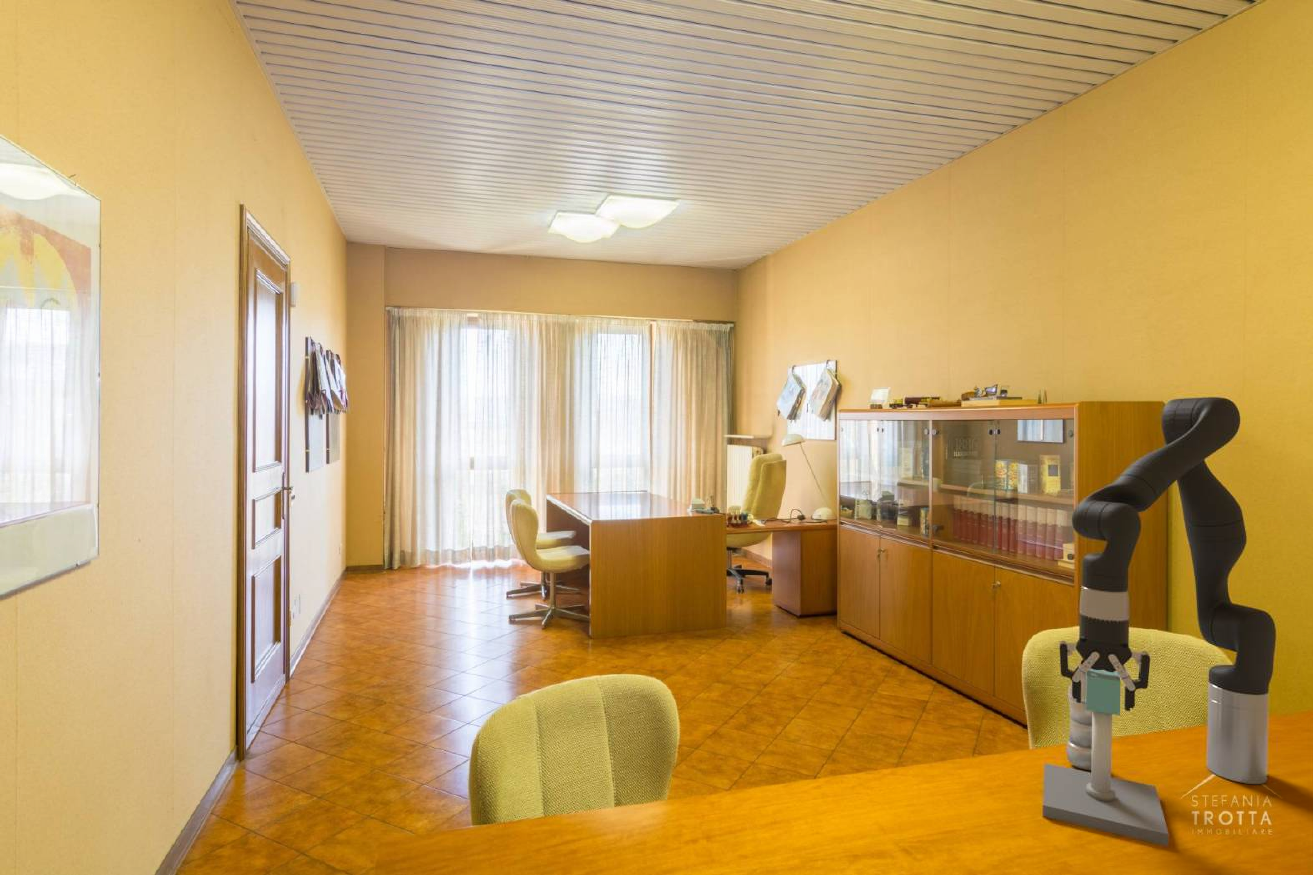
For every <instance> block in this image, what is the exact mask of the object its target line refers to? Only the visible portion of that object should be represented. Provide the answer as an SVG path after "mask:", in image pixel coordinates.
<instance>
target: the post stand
mask: <svg viewBox="0 0 1313 875" xmlns="http://www.w3.org/2000/svg"><path fill="white" fill-rule="evenodd" d="M1112 728H1113V714H1108V713H1102V712H1096V711H1092V761H1091V772H1089V771H1086V770H1085V771H1084V770H1079V769H1075V768H1071V767H1070V768H1069V767H1065V766H1060V765H1056V764H1055V765H1054V764H1052V763H1051V764H1050V763H1045V762H1044V769H1043V770H1044V771H1043V789H1042V790H1043V792H1042V795H1043V796H1042V817H1043V818H1047V817H1048V818H1049V819H1052V820H1057V821H1060V822H1064V823H1068V824H1069V823H1070V824H1072V825H1076V826H1077V825H1078V826H1082V827H1086V828H1090V829H1094V830H1097V831H1103V832H1106V833H1110V834H1115V835H1119V836H1123V837H1127V838H1132V839H1136V840H1141V841H1143V842H1144V841H1145V842H1148V843H1152V844H1156V845H1160V846H1161V845H1162V846H1163V847H1169V835H1170V834H1169V831H1168V827H1167V823H1166V820H1165V815H1164V812H1163V809H1162V805H1161V801H1160V798H1159V794H1158V791H1157V786H1156V785H1152V784H1147V783H1143V782H1136V781H1133V780H1132V781H1131V780H1128V779H1123V778H1118V777H1114V776H1113V777H1112V744H1113V743H1112V742H1113V741H1112V739H1113V738H1112V737H1113V733H1112V732H1113V729H1112Z"/></svg>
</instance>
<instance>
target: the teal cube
mask: <svg viewBox="0 0 1313 875" xmlns="http://www.w3.org/2000/svg"><path fill="white" fill-rule="evenodd" d="M1121 682H1122V681H1121V677H1120V676H1119V674H1118V673H1117V671H1115V672H1114V673H1113V672H1108V671H1105V670H1093V669H1089V670H1088V672H1087V673H1086V710H1091V711H1096V712H1102V713H1108V714H1112V715H1115V716H1121V684H1122V683H1121Z"/></svg>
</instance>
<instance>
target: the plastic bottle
mask: <svg viewBox="0 0 1313 875" xmlns="http://www.w3.org/2000/svg"><path fill="white" fill-rule="evenodd" d="M1077 666H1078V664H1076V666H1075V669H1076V668H1077ZM1090 669H1093V668H1090ZM1080 680H1081V703H1077V702H1076V699H1073V697H1072V683H1070V685H1069V687H1068V688H1067V697H1068V699H1067V700H1068V705H1069V716H1070V719H1069V721H1070V726H1069V733H1068V739H1067V742H1066V748H1065V752H1066V758H1067V760H1068V762H1069V764H1071V765H1073V766H1074V767H1076V768H1078V769H1081V770H1083V771H1084V770H1085V771H1091V761H1092V711H1091V710H1086V674H1084V676H1083V677H1082V678H1081V679H1080Z"/></svg>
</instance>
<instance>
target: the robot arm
mask: <svg viewBox="0 0 1313 875" xmlns="http://www.w3.org/2000/svg"><path fill="white" fill-rule="evenodd" d="M1160 419H1161V420H1160V422H1161V429H1162V435H1163V439H1164V442H1165V445H1164V446H1162V447H1160V448H1157V449H1155V450H1152V451H1151V452H1149V453H1146V454H1145V455H1143V456H1141V457H1140V458H1138V459H1136V460H1135V461H1134V462H1133V463H1131V464H1130V465H1129V466H1128V467H1127V468H1126V469H1125V470H1124V471H1123V472H1122V473H1121V474H1120V475H1119V476H1117V478H1116V479H1115V480H1114V482H1111V483H1110V484H1108V485H1106V486H1103V487H1102V488H1100V489H1098V490H1096V491H1095V492H1093V493H1092V494H1089V495H1087V497H1085V498H1083V499H1082V500H1081V501H1080V502H1079V503H1078V504H1077V505H1076V506H1075V508H1074V510H1073V513H1072V516H1071V524H1072V527H1073V529H1074V531H1075V532H1076V533H1077V534H1078V535H1079V536H1081V537H1083V538H1086V539H1089V540H1094V541H1095V540H1097V541H1102V542H1106V544H1105V547H1104V549H1103V551H1102V552H1097V553H1096V552H1094V553H1087V554H1086V555H1085V556H1084V557H1083V558H1082V561H1081V562H1082V564H1081V565H1082V566H1081V590H1080V594H1079V595H1080V596H1079V608H1078V609H1079V630H1078V634H1079V635H1078V640H1077V641H1076V642H1075V643H1073V642H1066V641H1065V640H1060V641H1059V661H1060V662H1059V663H1060V665H1059V666H1060V675H1061V677H1064V678H1067V679H1070V680H1071V684H1072V697H1073V699H1076V702H1077V703H1081V680H1080V679H1081V678H1082V677H1083V676H1084V674H1086V673H1087V672H1088V670H1089V669H1090V668H1093V670H1103V671H1108V672H1113V673H1114V672H1117V673H1118V674H1119V677H1120V680H1122V681H1123V683H1124V685H1125V686H1124V701H1123V705H1124V707H1123V708H1124V711H1126V712H1131V709H1134V707H1135V704H1136V701H1135V700H1136V694H1135V693H1136V691H1137V690H1140V689H1142V690H1146V689H1147V688H1148V687H1149V676H1150V665H1151V657H1150V655H1149V654H1150V653H1148V651H1145V650H1144V651H1141V652H1140V651H1133V650H1132V649H1131V648H1130V645H1129V643H1130V642H1129V641H1130V635H1129V634H1130V615H1131V611H1130V599H1129V568H1130V564H1131V562H1132V558H1133V554H1134V552H1135V549H1136V546H1137V543H1138V541H1139V538H1140V535H1141V531H1142V521H1141V520H1142V519H1141V517H1140V515H1139V513H1142V512H1145V511H1147V510H1148V509H1150V508H1151V507H1152V506H1153V504H1155V503H1156V501H1157V500H1158V499H1159V498H1160V497H1161V496H1163V495H1164V493H1165V492H1166V491H1167V490H1168V489H1169V488H1170V487H1171V486H1172V485H1173V484H1175V482H1176V483H1177V487H1178V493H1179V497H1180V503H1181V508H1182V515H1183V522H1184V526H1185V532H1186V537H1187V541H1188V546H1189V551H1190V555H1191V562H1192V568H1193V569H1192V570H1193V575H1194V584H1195V598H1196V600H1195V601H1196V613H1197V623H1198V628H1199V631H1200V633H1201V636H1202V638H1203V639H1204V641H1205V642H1207V643H1208V644H1210V645H1211V646H1215V647H1217V648H1220V649H1223V650H1227V651H1231V652H1234V653H1235V654H1236V655H1235V659H1234V660H1235V661H1234V663H1233V664H1218V665H1212V667H1210V668H1209V669H1208V679H1207V680H1208V687H1207V688H1208V689H1207V692H1208V693H1207V697H1208V698H1207V741H1206V767H1207V768H1206V769H1208V770H1209V771H1210V772H1211V773H1212V774H1213V773H1214V774H1215V775H1217V776H1219V777H1221V778H1224V779H1227V780H1229V781H1230V780H1231V781H1233V782H1238V783H1240V784H1241V783H1243V784H1247V785H1261V784H1266V782H1267V781H1268V780H1267V775H1268V772H1267V770H1268V745H1269V744H1268V741H1269V740H1268V738H1269V690H1270V683H1271V680H1272V677H1273V673H1274V663H1275V662H1274V661H1275V660H1274V659H1275V652H1276V643H1277V641H1276V640H1277V639H1276V638H1277V630H1276V624H1275V621H1274V619H1273V617H1272V616H1271V614H1270V613H1268V612H1266V611H1265V610H1263V609H1259V608H1256V607H1252V606H1246V605H1242V604H1238V603H1233V602H1232V601H1231V598H1230V593H1229V592H1230V591H1229V584H1228V582H1229V576H1230V573H1231V572H1232V570H1233V568H1234V566H1236V564H1237V562H1238V560H1239V559H1240V557H1241V556H1242V554H1243V553H1244V551H1245V548H1246V546H1247V530H1246V525H1245V520H1244V519H1245V518H1244V515H1243V511H1242V508H1241V506H1240V503H1239V502H1238V500H1236V498H1235V497H1234V496H1233V494H1232V493H1231V492H1230V491H1229V490H1228V489H1227V487H1226V486H1224V484H1222V482H1221V481H1220V480H1219V479H1218V478H1217V477H1216V476H1215V475H1214V474H1213V472H1212V471H1211V469H1210V468H1209V466H1208V465H1207V463H1206V461H1205V460H1206V459H1207V458H1209V457H1210V456H1211V455H1213V454H1215V453H1216V452H1217V451H1219V450H1220V449H1222V448H1224V446H1226V445H1227V444H1228V443H1230V442H1231V441H1232V440H1233V439H1234V438H1235V437H1236V435H1237V433H1238V432H1239V429H1240V426H1241V414H1240V410H1239V408H1238V407H1237V405H1236V404H1235V402H1233V401H1232V400H1231V399H1228V398H1226V397H1218V396H1208V397H1205V396H1204V397H1189V398H1188V397H1185V398H1184V397H1183V398H1175V399H1171V400H1169V401H1168V402H1166V404H1165V405H1164V407H1163V409H1162V411H1161V418H1160ZM1074 651H1077V653H1078V654H1079V656H1080V657H1081V658H1082V659H1081V660H1080V662H1079V663H1078V664H1077V665H1078V666H1077V665H1076V666H1077V668H1076V667H1075V669H1074V670H1072V669H1070V668H1069V657H1068V656H1071V655H1073V652H1074ZM1131 658H1132V659H1134V662H1135V664H1136V665H1137V666H1139V668H1138V679H1133V678H1132V677H1131V675H1130V674H1129V672H1128V670H1127V669H1126V667H1125V665H1126V664H1127V662H1129V661H1130V659H1131Z"/></svg>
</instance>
